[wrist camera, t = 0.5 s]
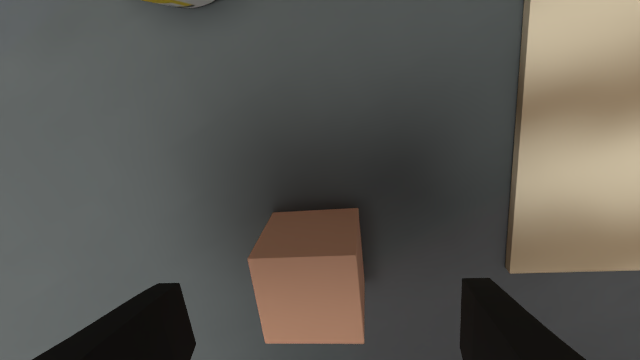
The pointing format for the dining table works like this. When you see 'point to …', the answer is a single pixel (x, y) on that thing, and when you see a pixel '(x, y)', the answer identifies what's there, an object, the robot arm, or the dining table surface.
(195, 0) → the supplement bottle
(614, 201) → the beige flat square sheet
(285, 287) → the terracotta cube
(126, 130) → the dining table surface
